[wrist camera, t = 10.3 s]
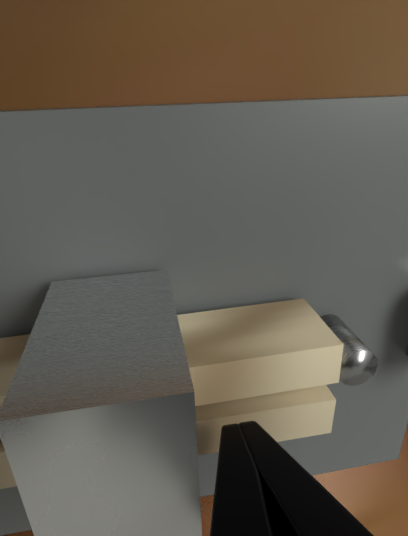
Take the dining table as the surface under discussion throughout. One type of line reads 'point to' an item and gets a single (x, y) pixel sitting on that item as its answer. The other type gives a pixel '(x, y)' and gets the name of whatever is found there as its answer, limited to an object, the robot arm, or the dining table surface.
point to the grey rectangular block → (105, 413)
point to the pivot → (352, 353)
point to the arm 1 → (239, 351)
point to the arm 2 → (249, 409)
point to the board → (224, 231)
